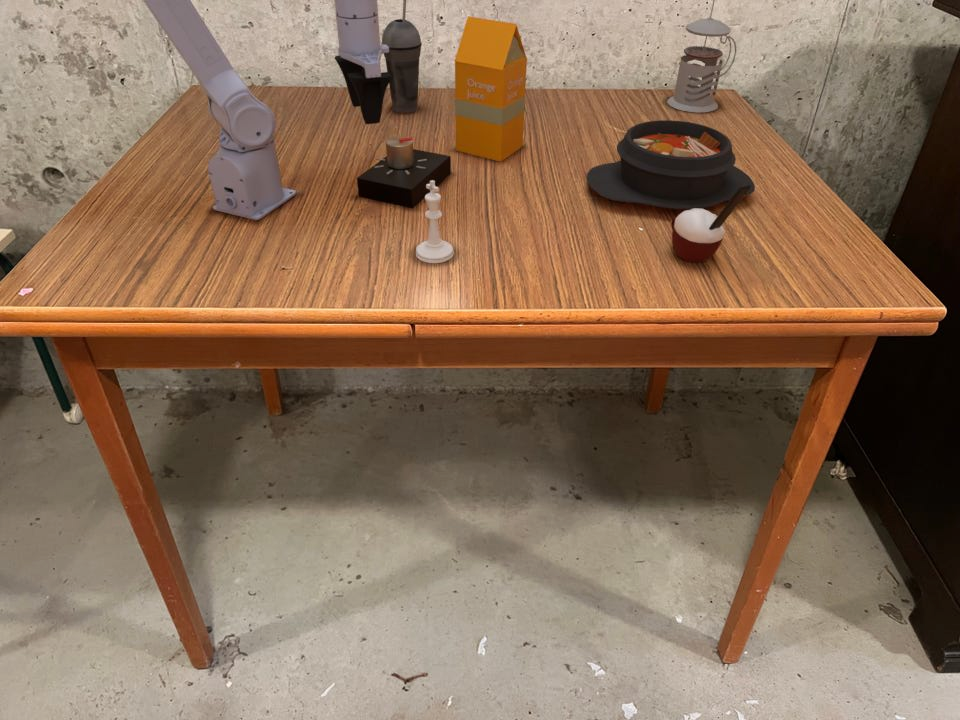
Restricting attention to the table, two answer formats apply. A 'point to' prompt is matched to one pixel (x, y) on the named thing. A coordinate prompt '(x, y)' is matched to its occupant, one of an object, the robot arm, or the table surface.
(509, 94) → the orange juice
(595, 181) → the casserole
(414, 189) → the hob panel
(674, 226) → the rice bowl
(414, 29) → the beverage cup
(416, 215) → the table surface
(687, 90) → the french press
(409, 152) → the knob
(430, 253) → the chess piece
